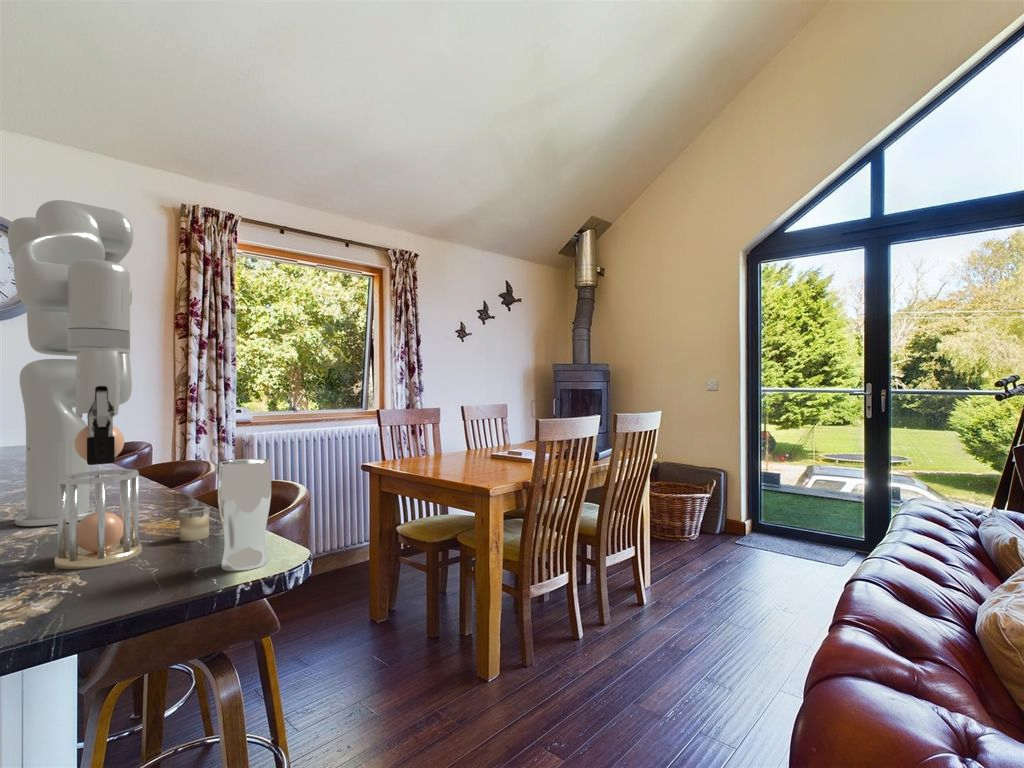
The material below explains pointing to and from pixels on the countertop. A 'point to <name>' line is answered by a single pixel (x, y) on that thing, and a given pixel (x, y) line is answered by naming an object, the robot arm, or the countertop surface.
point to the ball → (89, 531)
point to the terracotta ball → (84, 434)
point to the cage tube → (98, 520)
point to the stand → (194, 523)
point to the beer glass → (244, 512)
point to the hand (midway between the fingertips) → (99, 460)
